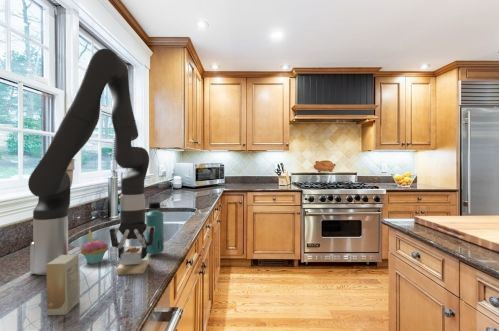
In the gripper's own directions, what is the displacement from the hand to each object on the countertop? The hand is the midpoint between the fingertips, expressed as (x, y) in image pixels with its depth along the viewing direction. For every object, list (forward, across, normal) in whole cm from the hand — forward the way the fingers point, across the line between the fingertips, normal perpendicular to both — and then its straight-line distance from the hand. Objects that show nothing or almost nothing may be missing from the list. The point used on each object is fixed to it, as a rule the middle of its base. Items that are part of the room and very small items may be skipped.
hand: (133, 258), depth 92 cm
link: (+1, 0, 0) cm, 1 cm away
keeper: (+4, 0, 0) cm, 4 cm away
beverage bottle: (+4, +5, +13) cm, 14 cm away
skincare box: (+4, -11, -23) cm, 26 cm away
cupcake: (+4, -15, +10) cm, 18 cm away
